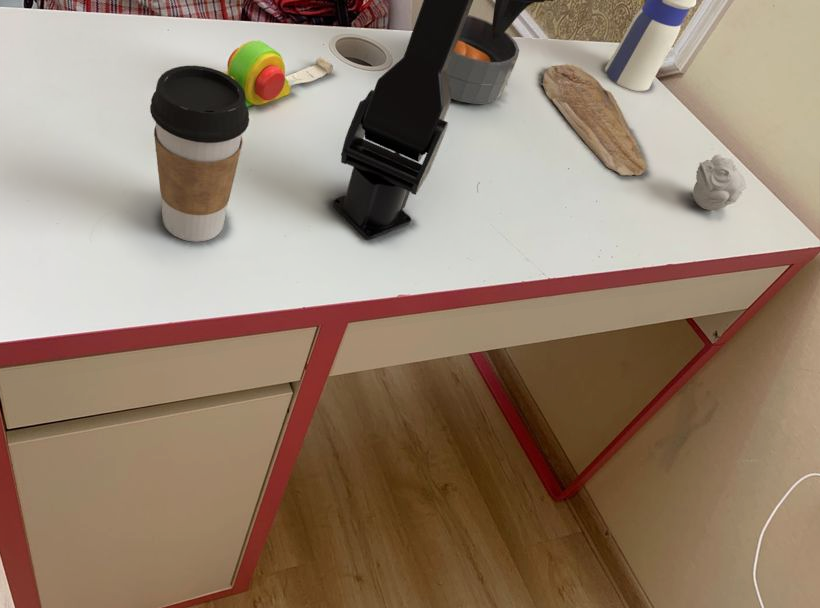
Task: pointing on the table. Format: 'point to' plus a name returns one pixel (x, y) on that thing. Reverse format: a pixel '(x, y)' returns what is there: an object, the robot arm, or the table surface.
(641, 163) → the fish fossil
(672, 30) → the water bottle
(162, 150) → the coffee cup
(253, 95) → the toy measuring tape
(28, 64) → the table surface
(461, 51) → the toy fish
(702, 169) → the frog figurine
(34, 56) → the table surface
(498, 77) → the grey round pot
